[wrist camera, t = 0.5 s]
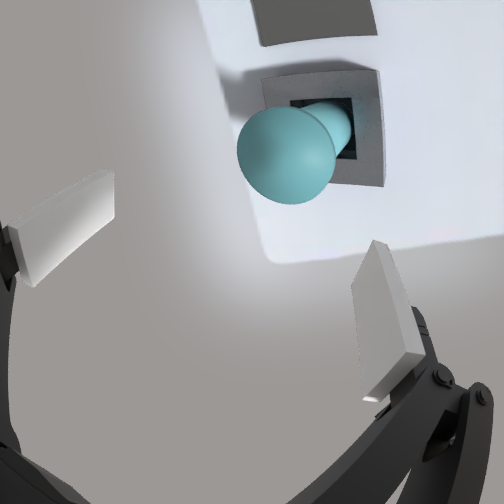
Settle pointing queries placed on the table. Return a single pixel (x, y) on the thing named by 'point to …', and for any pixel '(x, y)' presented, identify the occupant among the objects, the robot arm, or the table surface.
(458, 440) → the robot arm
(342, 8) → the mat
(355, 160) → the housing
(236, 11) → the table surface
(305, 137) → the teal capped cylinder
